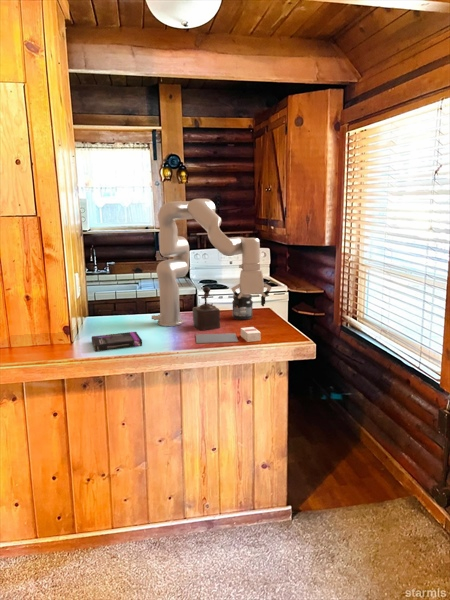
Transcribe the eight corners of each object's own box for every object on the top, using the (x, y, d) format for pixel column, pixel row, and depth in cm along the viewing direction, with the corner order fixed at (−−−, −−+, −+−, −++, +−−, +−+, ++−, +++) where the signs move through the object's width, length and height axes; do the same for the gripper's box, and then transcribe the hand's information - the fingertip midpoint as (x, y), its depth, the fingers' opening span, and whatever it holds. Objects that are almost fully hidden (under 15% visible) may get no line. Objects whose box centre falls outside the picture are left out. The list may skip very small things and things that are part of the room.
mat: (196, 343, 189) (196, 342, 189) (195, 335, 201) (195, 334, 201) (238, 342, 191) (238, 341, 191) (235, 334, 202) (235, 333, 202)
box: (136, 338, 200) (91, 343, 193) (136, 331, 199) (91, 335, 192) (142, 347, 187) (94, 352, 180) (142, 339, 186) (93, 344, 179)
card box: (247, 342, 191) (247, 333, 190) (240, 336, 199) (240, 327, 199) (260, 341, 193) (260, 332, 192) (253, 335, 201) (253, 326, 200)
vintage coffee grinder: (221, 328, 212) (221, 291, 208) (200, 331, 208) (199, 293, 204) (209, 320, 226) (209, 285, 222) (189, 322, 221) (188, 287, 218)
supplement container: (243, 314, 237) (243, 292, 235) (256, 318, 229) (257, 295, 227) (228, 317, 231) (228, 295, 228) (241, 321, 223) (241, 298, 220)
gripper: (231, 269, 185) (232, 309, 188) (272, 267, 186) (273, 307, 190) (230, 266, 192) (230, 305, 195) (269, 265, 193) (269, 303, 197)
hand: (251, 306), depth 193 cm, fingers open, 9 cm apart
